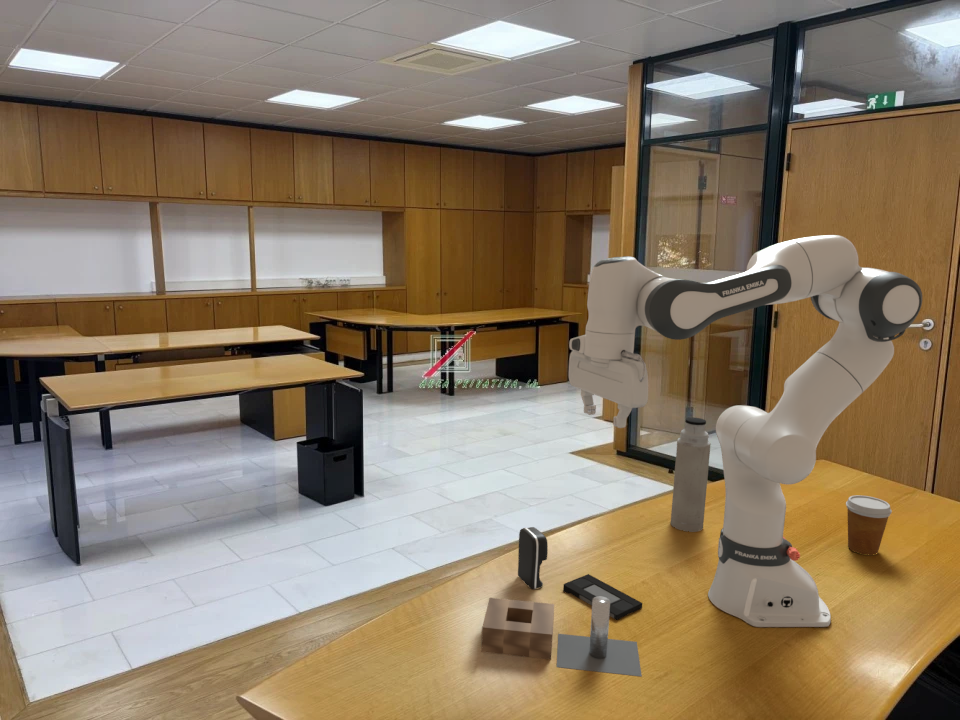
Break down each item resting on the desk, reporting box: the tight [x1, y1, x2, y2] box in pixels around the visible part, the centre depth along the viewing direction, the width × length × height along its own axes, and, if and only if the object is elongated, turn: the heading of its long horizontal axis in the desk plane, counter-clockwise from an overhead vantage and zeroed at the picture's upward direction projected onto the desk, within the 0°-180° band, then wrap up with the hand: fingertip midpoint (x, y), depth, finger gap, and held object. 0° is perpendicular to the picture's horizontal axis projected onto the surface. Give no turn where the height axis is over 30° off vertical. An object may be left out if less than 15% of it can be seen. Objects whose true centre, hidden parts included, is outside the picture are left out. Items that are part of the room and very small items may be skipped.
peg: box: [589, 596, 610, 659], centre depth 119 cm, size 3×3×10 cm
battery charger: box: [517, 526, 549, 590], centre depth 144 cm, size 7×4×11 cm, turn 23°
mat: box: [556, 633, 643, 677], centre depth 120 cm, size 14×10×1 cm
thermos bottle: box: [670, 416, 712, 533], centre depth 173 cm, size 8×8×28 cm
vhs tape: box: [563, 573, 643, 621], centre depth 138 cm, size 8×14×2 cm, turn 38°
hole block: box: [481, 597, 555, 660], centre depth 123 cm, size 12×10×5 cm
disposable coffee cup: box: [845, 494, 892, 556], centre depth 164 cm, size 10×10×12 cm
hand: (603, 420), depth 128 cm, fingers open, 8 cm apart
